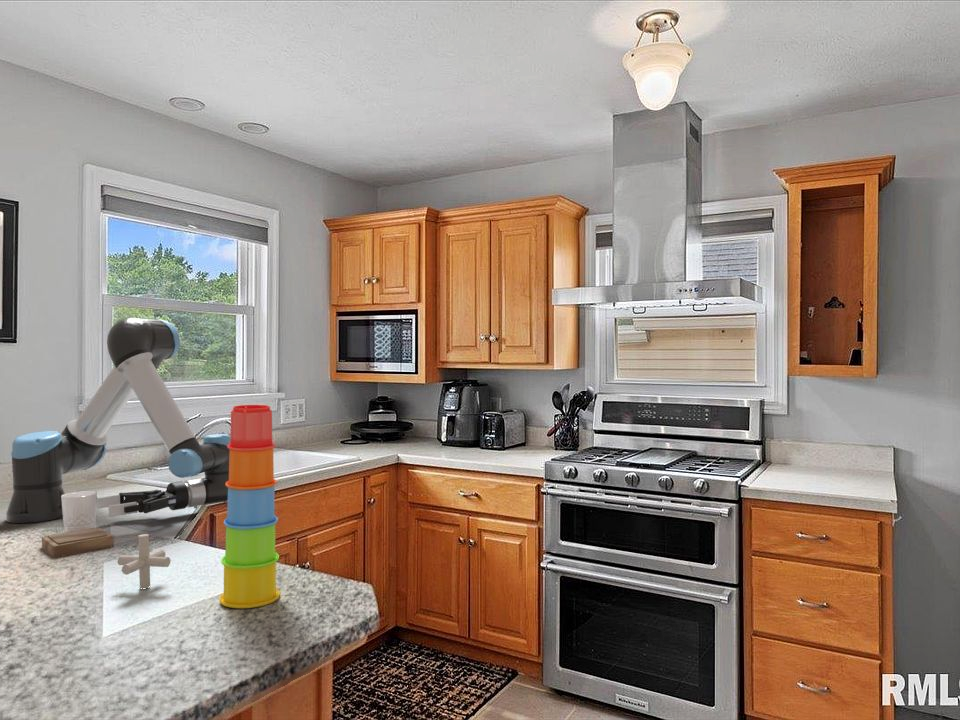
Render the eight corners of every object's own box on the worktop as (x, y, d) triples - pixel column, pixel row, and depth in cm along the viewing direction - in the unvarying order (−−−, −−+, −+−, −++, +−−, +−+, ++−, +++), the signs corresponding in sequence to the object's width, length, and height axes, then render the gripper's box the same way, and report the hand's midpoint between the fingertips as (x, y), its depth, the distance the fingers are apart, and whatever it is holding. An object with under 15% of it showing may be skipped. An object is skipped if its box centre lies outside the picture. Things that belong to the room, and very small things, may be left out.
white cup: (64, 532, 178) (63, 492, 178) (99, 528, 181) (98, 489, 181) (60, 539, 171) (59, 498, 171) (97, 535, 174) (95, 495, 174)
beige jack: (151, 598, 127) (149, 543, 127) (103, 595, 129) (101, 541, 129) (184, 580, 137) (183, 529, 137) (139, 578, 139) (138, 527, 139)
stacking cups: (275, 586, 132) (270, 402, 132) (284, 603, 123) (279, 405, 122) (217, 595, 128) (211, 405, 127) (222, 613, 118) (216, 409, 118)
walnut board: (41, 547, 164) (41, 535, 164) (98, 537, 172) (98, 526, 172) (54, 557, 155) (54, 545, 155) (113, 546, 163) (113, 534, 163)
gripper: (203, 514, 185) (116, 530, 170) (168, 501, 203) (87, 515, 188) (202, 486, 185) (115, 499, 170) (167, 476, 203) (86, 487, 188)
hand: (100, 507), depth 179 cm, fingers open, 13 cm apart
